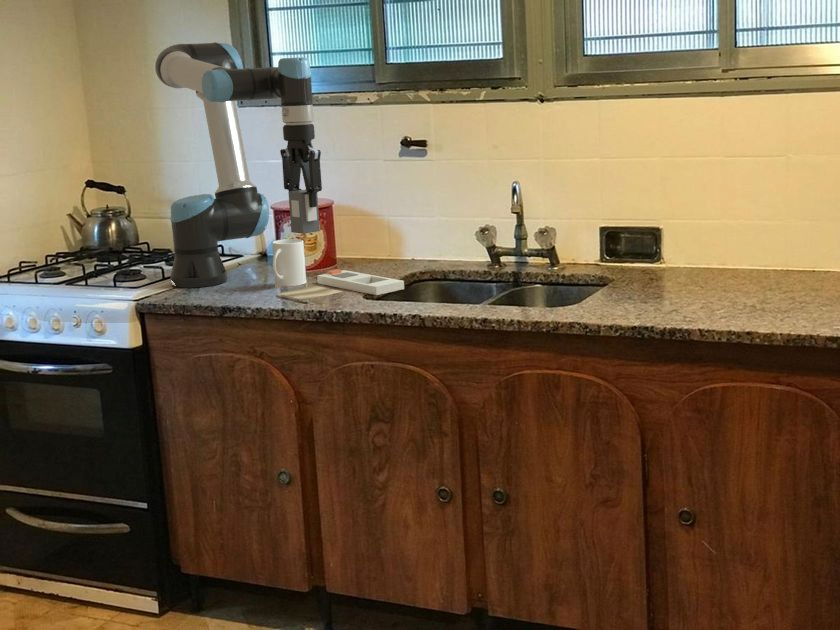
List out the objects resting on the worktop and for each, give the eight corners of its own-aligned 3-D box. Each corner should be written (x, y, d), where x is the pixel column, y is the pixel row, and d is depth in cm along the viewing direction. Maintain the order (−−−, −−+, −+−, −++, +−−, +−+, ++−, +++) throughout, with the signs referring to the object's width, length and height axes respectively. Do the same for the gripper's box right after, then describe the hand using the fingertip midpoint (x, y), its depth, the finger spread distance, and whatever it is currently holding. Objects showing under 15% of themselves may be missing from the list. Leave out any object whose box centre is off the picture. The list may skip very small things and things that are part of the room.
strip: (304, 284, 274) (303, 269, 273) (331, 278, 280) (330, 264, 279) (376, 298, 252) (375, 283, 252) (404, 292, 258) (403, 277, 257)
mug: (286, 293, 264) (283, 246, 261) (260, 291, 268) (256, 245, 265) (313, 284, 274) (310, 239, 271) (288, 282, 278) (284, 238, 275)
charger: (291, 232, 255) (288, 191, 253) (307, 229, 258) (305, 189, 256) (303, 233, 251) (300, 192, 249) (319, 231, 255) (317, 190, 252)
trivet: (276, 297, 259) (275, 293, 259) (314, 289, 267) (314, 285, 267) (304, 304, 250) (304, 300, 250) (343, 295, 258) (343, 291, 258)
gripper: (264, 124, 253) (271, 218, 258) (307, 125, 240) (314, 224, 245) (289, 122, 258) (295, 215, 263) (333, 122, 245) (339, 220, 250)
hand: (304, 219), depth 254 cm, fingers closed on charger, 5 cm apart
